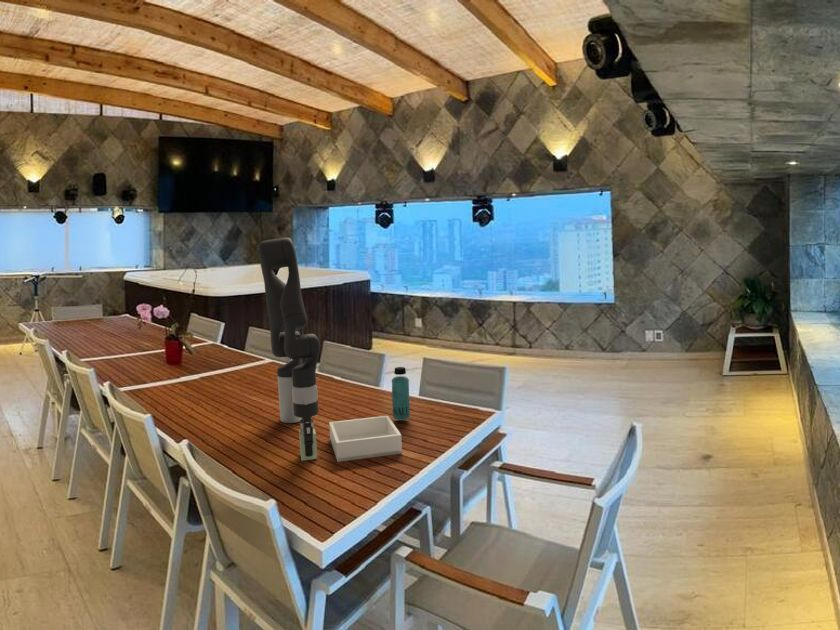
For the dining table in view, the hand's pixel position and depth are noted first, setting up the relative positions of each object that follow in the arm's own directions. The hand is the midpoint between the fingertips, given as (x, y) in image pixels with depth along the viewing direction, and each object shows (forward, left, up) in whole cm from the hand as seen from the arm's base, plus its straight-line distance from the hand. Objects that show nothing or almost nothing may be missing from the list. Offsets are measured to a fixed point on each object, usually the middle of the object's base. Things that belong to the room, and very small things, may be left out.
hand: (308, 452), depth 174 cm
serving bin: (-3, +18, -1) cm, 18 cm away
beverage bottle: (-23, +35, -2) cm, 42 cm away
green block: (0, 0, -1) cm, 1 cm away
